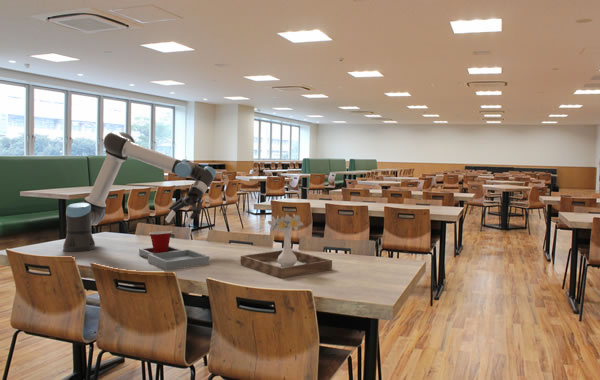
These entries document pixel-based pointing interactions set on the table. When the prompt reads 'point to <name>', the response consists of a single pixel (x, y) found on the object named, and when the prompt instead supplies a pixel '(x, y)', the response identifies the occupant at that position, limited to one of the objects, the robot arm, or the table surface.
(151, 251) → the square collar
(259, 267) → the frame
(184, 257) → the tray
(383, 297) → the table surface
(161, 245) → the plastic cup
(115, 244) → the table surface
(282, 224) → the flower vase
